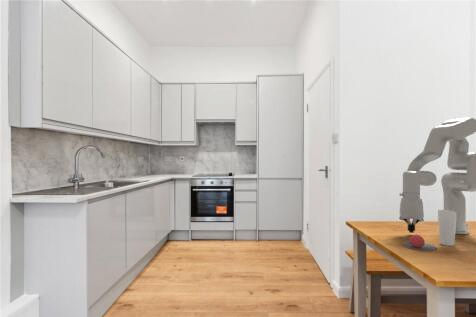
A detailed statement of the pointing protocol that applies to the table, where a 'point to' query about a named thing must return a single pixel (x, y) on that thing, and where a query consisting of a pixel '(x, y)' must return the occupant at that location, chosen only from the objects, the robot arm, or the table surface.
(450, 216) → the drinking glass
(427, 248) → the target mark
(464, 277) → the table surface
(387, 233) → the table surface
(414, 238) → the ball
